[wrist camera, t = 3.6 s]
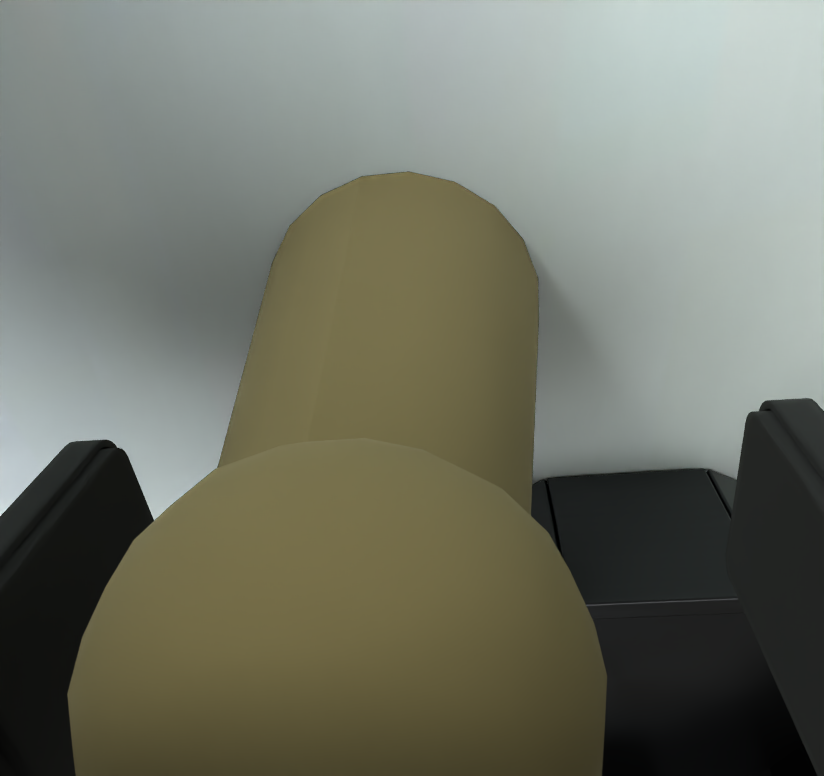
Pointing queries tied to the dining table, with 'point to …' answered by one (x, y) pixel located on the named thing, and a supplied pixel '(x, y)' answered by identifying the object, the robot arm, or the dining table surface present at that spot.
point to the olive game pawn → (359, 531)
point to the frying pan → (670, 626)
